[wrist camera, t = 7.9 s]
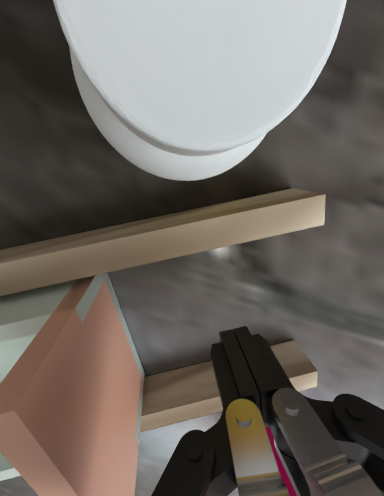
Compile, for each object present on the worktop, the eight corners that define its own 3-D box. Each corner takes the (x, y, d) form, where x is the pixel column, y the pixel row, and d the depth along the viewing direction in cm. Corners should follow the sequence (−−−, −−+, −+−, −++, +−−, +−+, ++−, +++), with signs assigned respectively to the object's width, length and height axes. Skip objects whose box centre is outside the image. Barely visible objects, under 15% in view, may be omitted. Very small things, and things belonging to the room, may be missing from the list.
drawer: (-78, 301, 13) (-486, 534, 5) (103, 262, 14) (13, 410, 5) (4, 407, 17) (-149, 644, 9) (144, 373, 18) (128, 563, 9)
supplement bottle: (106, 65, 11) (-199, -478, 2) (215, 48, 11) (463, -495, 2) (136, 181, 13) (73, 221, 4) (227, 163, 13) (376, 161, 4)
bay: (-129, 276, 12) (-213, 308, 10) (292, 188, 14) (325, 194, 11) (-3, 428, 18) (-33, 477, 15) (294, 353, 19) (317, 386, 16)
